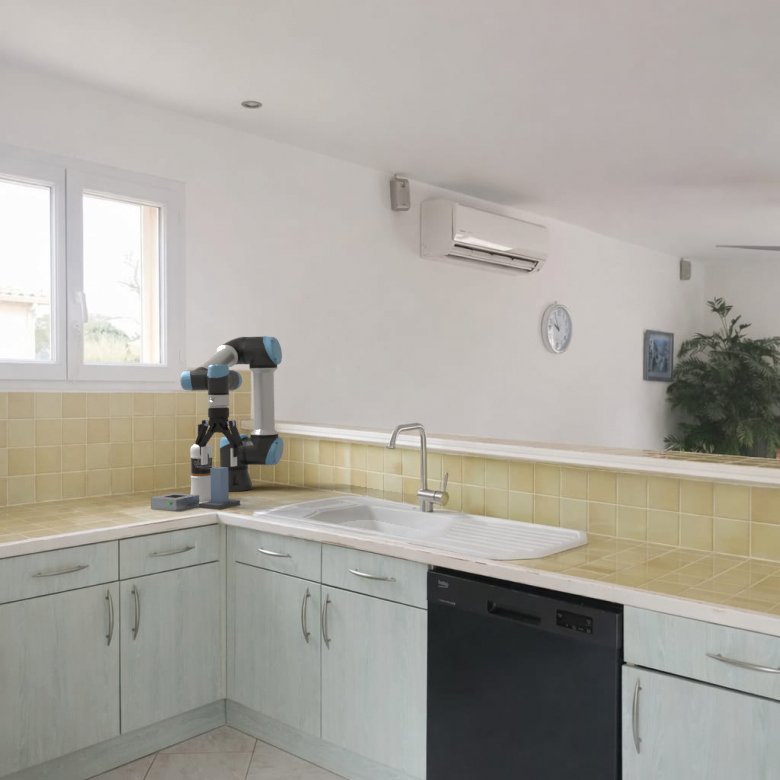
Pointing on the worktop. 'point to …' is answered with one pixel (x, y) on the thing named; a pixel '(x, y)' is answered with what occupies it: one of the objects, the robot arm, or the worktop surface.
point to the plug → (219, 485)
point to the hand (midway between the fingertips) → (219, 465)
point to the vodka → (200, 472)
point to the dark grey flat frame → (219, 506)
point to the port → (174, 502)
